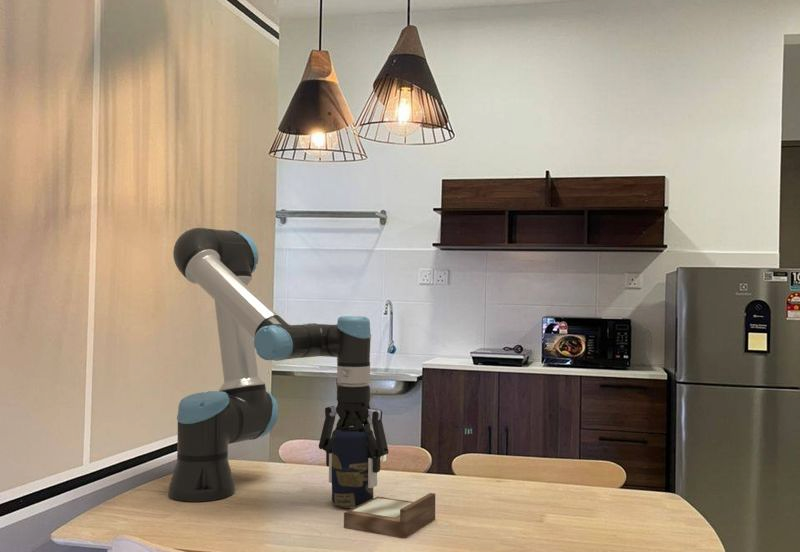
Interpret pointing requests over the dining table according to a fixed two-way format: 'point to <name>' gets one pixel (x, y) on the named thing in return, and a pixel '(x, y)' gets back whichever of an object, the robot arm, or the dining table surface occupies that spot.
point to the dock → (391, 516)
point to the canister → (350, 467)
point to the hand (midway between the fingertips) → (352, 483)
